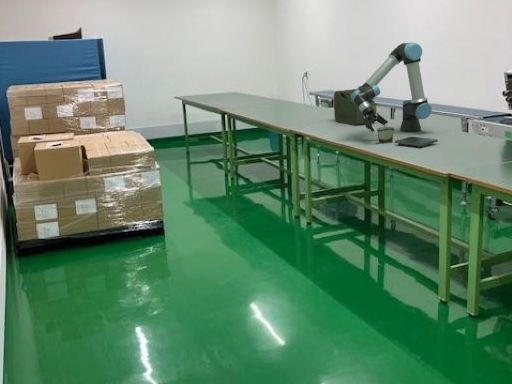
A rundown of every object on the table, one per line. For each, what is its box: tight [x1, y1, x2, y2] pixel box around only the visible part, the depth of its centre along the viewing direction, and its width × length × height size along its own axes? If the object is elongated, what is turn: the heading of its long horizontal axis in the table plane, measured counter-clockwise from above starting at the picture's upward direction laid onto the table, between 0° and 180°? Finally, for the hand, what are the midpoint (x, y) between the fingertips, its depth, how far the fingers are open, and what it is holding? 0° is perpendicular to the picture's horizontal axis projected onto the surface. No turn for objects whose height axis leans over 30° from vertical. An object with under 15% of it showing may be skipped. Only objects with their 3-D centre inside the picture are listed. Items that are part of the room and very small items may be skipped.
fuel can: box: [333, 88, 377, 126], centre depth 452 cm, size 19×35×27 cm, turn 23°
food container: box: [376, 126, 395, 145], centre depth 361 cm, size 12×6×10 cm, turn 100°
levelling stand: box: [394, 136, 439, 149], centre depth 348 cm, size 18×20×4 cm
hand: (383, 133), depth 360 cm, fingers open, 13 cm apart
